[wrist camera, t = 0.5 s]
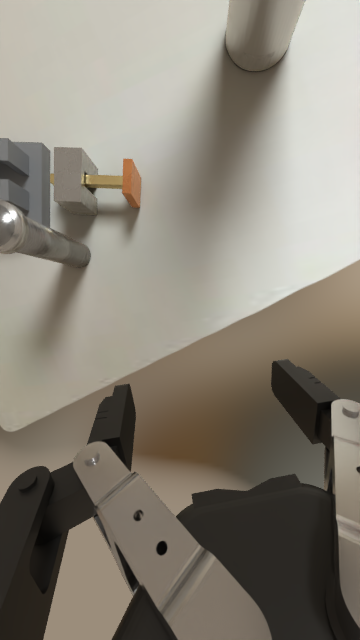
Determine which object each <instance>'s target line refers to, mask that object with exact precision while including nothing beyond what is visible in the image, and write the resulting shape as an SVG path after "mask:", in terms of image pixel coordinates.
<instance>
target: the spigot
mask: <svg viewBox="0 0 360 640" xmlns="http://www.w3.org/2000/svg"><path fill="white" fill-rule="evenodd" d="M15 252H18V253H22V254H26V255H30V256H34V257H38V258H42V259H46V260H50V261H54V262H58V263H62V264H66V265H70V266H73V267H78V268H81V267H84V266H86V265H87V264H88V263H89V261H90V257H91V254H90V250H89V249H88V247H87V246H86V245H84V244H82V243H80V242H78V241H76V240H74V239H72V238H70V237H68V236H66V235H63V234H61V233H59V232H57V231H55V230H53V229H51V228H49V227H47V226H44V225H42V224H40V223H38V222H36V221H34V220H32V219H30V218H28V217H25V215H24V214H23V213H22V211H21V210H20V209H19V208H17V207H16V206H14V205H12V204H10V203H8V202H6V201H4V200H2V199H0V253H2V254H12V253H15Z"/></svg>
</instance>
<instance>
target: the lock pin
mask: <svg viewBox="0 0 360 640" xmlns="http://www.w3.org/2000/svg"><path fill="white" fill-rule="evenodd" d="M50 183H52V184H53V185H54V174H50ZM84 186H85V187H86V188H112V189H122V193H123V195H124V196H125V198H126V199H127V201H128V202H129V203H130V205H131V206H132V207H136V208H140V191H141V177H140V175H139V173H138V170H137V168H136V166H135V164H134V162H133V160H132V159H123V176H108V175H84Z"/></svg>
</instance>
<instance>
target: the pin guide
mask: <svg viewBox="0 0 360 640" xmlns="http://www.w3.org/2000/svg"><path fill="white" fill-rule="evenodd" d="M84 175H98V169H97V167H96V166H95V165H94V163H93V162H92V161H91V159H90V158H89V157H88V155H87V154H86V153H85V151H84V150H83V149H82V148H64V147H54V201H55V202H56V203H58V204H59V205H61V206H62V207H64V208H65V209H67V210H68V211H70V212H71V213H73V214H83V215H97V198H96V197H95V196H94V195H93V194H92V193H91V192H90V191H89V190H88V189H87V188H86V187H85V186H84Z"/></svg>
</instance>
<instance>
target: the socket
mask: <svg viewBox="0 0 360 640" xmlns="http://www.w3.org/2000/svg"><path fill="white" fill-rule="evenodd" d="M0 199H2V200H4V201H6V202H8V203H10V204H12V205H14V206H16V207H17V208H19V209H20V210H21V211H22V213H23V214H24V215H25V217H28V218H30V219H32V220H34V221H36V222H38V223H40V224H42V225H44V226H47V227H49V228H50V150H49V149H48V148H47V147H46V146H45V145H44V144H43V143H34V142H11V141H10V140H9V139H8V138H0Z"/></svg>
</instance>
